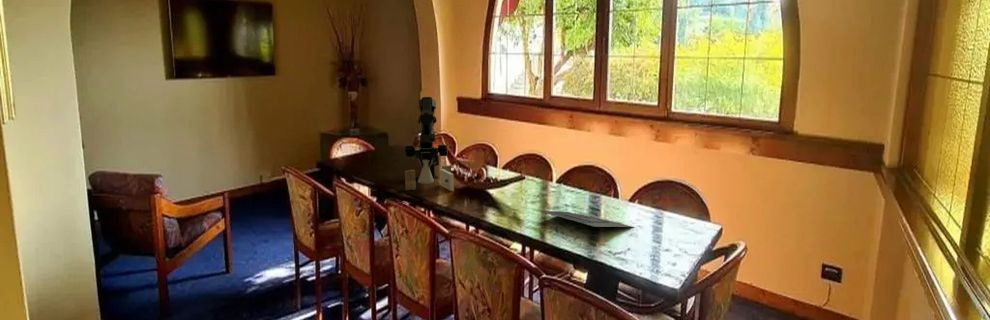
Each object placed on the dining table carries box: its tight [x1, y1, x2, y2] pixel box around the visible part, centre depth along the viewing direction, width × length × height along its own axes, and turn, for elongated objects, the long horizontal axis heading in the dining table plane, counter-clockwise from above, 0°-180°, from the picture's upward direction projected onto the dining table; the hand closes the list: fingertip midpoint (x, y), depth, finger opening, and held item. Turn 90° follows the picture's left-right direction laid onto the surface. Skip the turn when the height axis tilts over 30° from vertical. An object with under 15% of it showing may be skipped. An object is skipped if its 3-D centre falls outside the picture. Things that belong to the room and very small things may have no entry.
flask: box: [417, 160, 435, 185], centre depth 274 cm, size 7×7×10 cm
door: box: [439, 168, 455, 192], centre depth 286 cm, size 12×3×8 cm, turn 28°
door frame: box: [404, 164, 453, 191], centre depth 289 cm, size 2×23×9 cm, turn 118°
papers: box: [540, 210, 633, 228], centre depth 235 cm, size 24×30×4 cm
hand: (425, 166), depth 273 cm, fingers closed on flask, 3 cm apart
